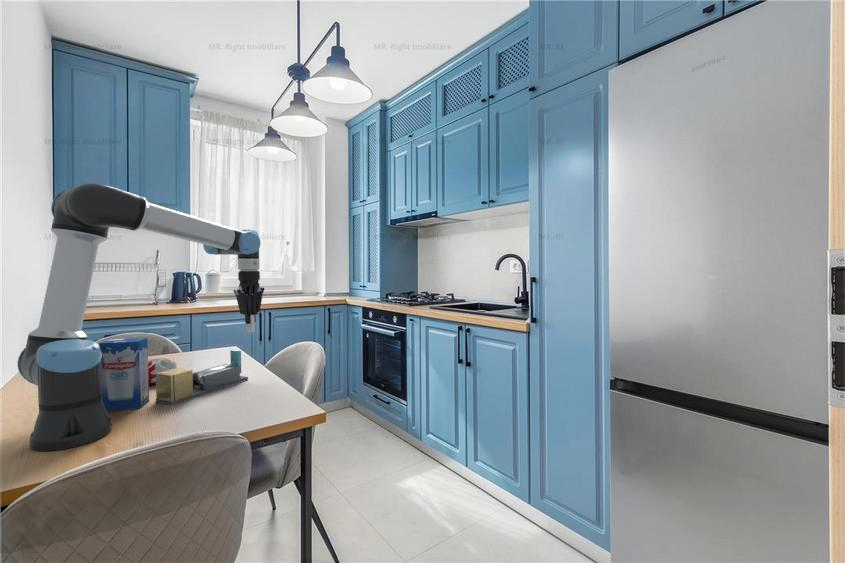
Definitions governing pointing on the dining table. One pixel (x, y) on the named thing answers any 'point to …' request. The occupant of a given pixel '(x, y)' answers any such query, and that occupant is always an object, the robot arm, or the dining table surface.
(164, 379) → the guide
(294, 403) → the dining table surface
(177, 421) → the dining table surface
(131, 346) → the milk carton
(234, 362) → the bolt
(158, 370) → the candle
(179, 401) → the mat
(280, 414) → the dining table surface
